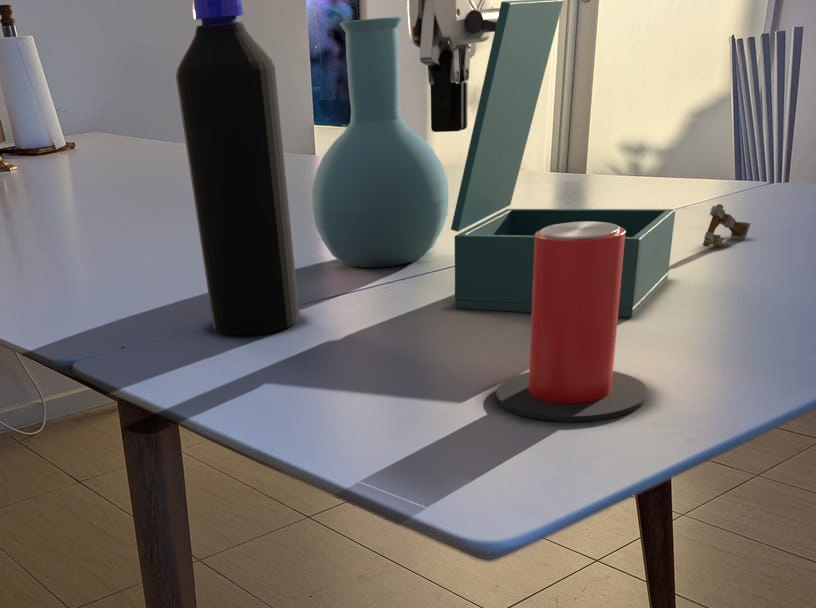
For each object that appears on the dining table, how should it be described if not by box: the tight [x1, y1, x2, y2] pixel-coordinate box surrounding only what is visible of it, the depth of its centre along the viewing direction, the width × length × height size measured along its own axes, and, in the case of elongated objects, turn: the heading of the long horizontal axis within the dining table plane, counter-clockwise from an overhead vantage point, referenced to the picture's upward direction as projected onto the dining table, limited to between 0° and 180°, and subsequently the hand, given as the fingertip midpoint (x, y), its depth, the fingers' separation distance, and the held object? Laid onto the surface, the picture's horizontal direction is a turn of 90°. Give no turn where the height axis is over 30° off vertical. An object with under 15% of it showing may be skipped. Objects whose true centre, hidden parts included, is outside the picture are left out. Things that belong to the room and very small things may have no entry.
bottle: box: [175, 0, 300, 337], centre depth 85 cm, size 9×9×28 cm
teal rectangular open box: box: [454, 208, 676, 319], centre depth 91 cm, size 18×15×7 cm
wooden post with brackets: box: [702, 203, 751, 248], centre depth 106 cm, size 2×8×4 cm, turn 132°
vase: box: [311, 15, 450, 268], centre depth 108 cm, size 17×16×25 cm
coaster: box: [495, 370, 649, 423], centre depth 68 cm, size 11×11×1 cm
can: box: [528, 222, 625, 404], centre depth 65 cm, size 6×6×11 cm
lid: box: [450, 0, 564, 233], centre depth 88 cm, size 18×15×5 cm
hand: (449, 130), depth 90 cm, fingers closed
